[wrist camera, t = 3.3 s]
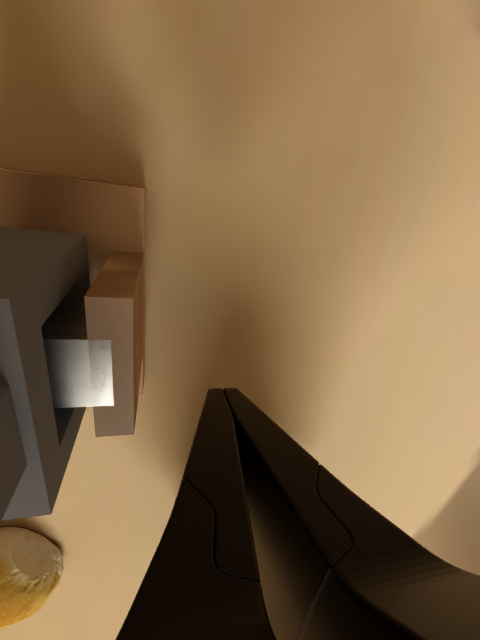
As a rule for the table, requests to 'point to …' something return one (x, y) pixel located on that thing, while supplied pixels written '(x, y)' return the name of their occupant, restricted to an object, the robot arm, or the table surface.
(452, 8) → the table surface
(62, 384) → the brushed metal beam
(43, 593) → the bread roll
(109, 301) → the stand
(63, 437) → the grey stepped block
